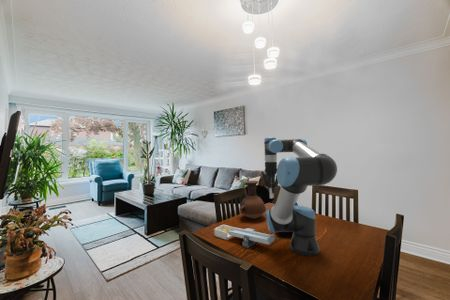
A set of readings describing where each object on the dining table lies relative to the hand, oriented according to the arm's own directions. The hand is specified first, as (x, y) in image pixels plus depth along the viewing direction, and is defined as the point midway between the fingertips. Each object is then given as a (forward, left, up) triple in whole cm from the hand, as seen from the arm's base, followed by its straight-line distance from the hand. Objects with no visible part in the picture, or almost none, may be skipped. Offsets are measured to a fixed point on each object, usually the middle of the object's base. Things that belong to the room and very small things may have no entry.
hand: (271, 197), depth 130 cm
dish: (+25, +18, -24) cm, 39 cm away
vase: (+27, -19, -25) cm, 41 cm away
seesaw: (+5, +15, -20) cm, 26 cm away
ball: (+25, +18, -22) cm, 38 cm away
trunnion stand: (+5, +18, -24) cm, 31 cm away
